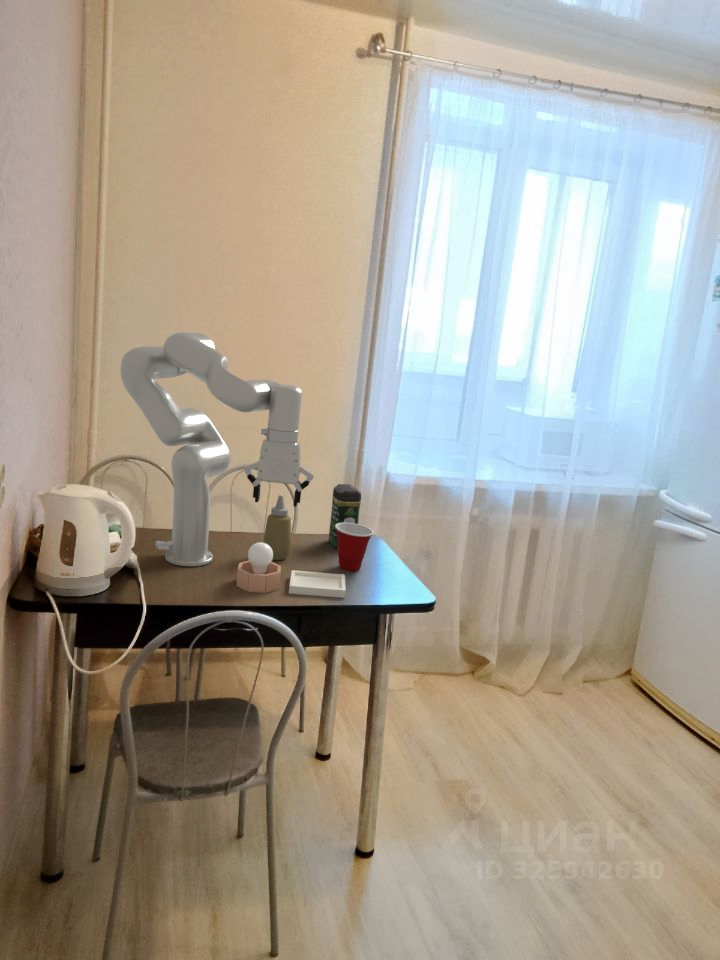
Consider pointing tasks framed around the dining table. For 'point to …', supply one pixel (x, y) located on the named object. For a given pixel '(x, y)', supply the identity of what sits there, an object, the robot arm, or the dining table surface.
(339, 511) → the coffee jar
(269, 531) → the squeeze bottle
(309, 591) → the tray
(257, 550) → the lightbulb
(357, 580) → the dining table surface
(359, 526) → the plastic cup
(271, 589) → the terracotta octagonal ring
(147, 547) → the dining table surface
